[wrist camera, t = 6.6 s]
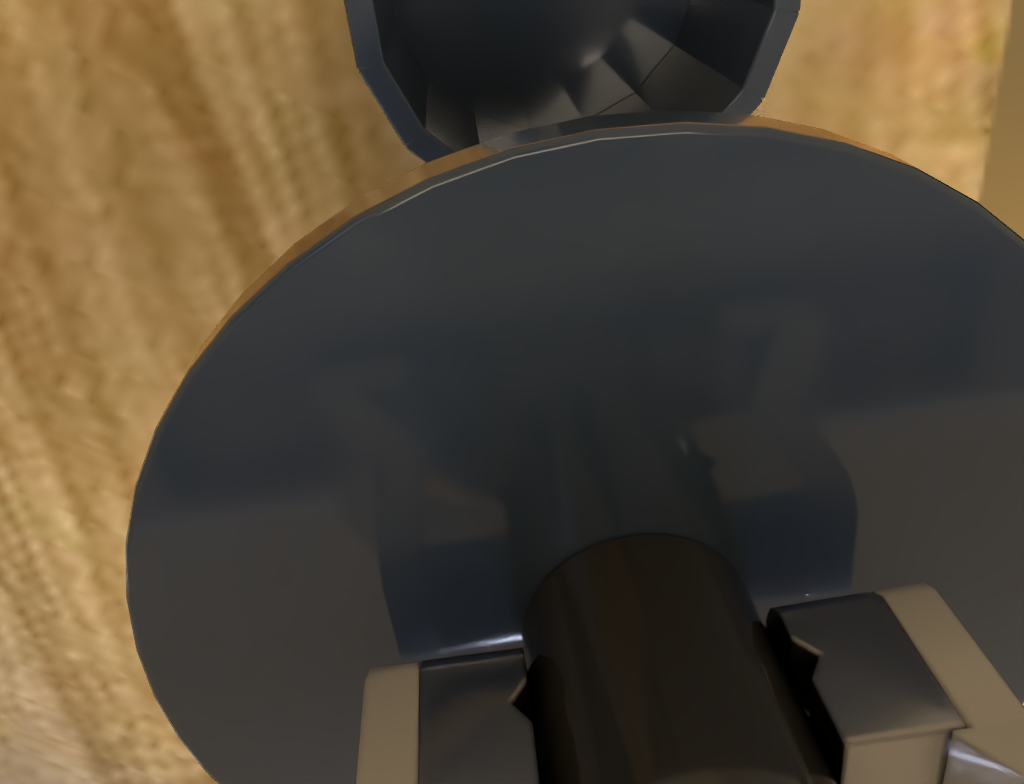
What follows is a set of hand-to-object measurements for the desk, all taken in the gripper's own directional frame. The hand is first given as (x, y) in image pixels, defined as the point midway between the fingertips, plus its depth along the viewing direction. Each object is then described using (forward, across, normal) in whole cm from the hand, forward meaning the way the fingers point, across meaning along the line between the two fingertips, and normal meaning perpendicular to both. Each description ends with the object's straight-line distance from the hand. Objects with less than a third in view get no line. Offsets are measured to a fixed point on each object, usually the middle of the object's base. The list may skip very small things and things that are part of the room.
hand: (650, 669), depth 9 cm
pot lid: (+1, 0, 0) cm, 1 cm away
